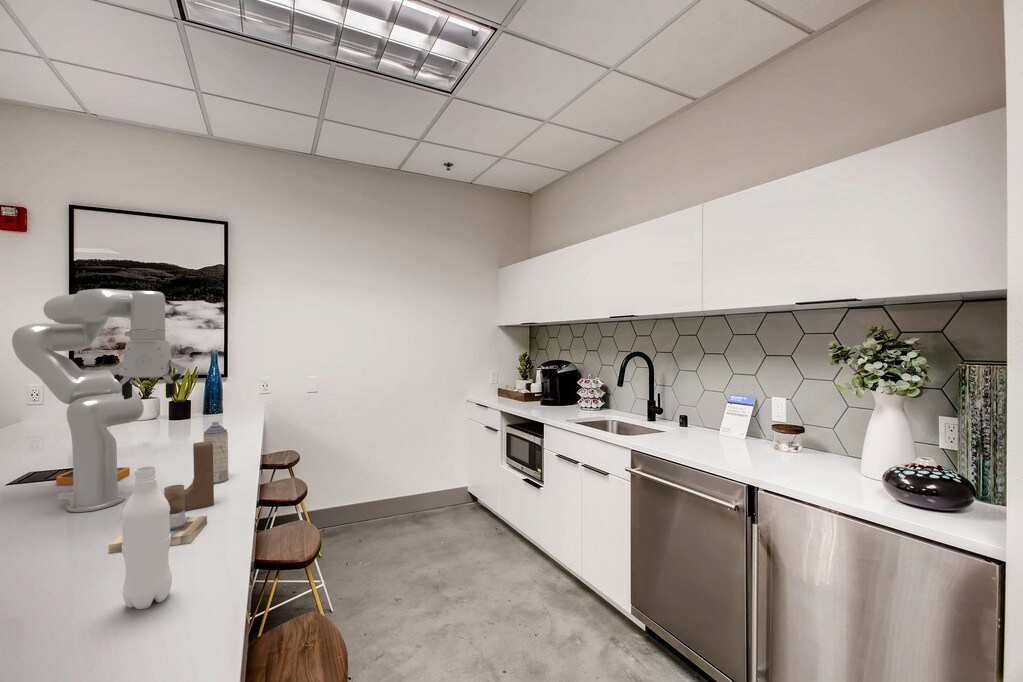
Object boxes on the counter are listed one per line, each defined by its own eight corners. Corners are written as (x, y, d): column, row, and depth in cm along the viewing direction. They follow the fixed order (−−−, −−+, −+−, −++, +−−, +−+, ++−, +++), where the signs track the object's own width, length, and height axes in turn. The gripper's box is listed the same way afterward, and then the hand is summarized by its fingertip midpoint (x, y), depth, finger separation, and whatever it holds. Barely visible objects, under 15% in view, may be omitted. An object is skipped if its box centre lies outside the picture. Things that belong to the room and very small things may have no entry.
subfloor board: (108, 553, 105) (108, 543, 105) (133, 531, 116) (133, 522, 116) (190, 543, 110) (190, 534, 110) (207, 523, 121) (206, 514, 121)
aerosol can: (232, 477, 159) (230, 419, 158) (222, 483, 152) (221, 423, 152) (210, 478, 158) (209, 420, 157) (200, 485, 151) (199, 424, 151)
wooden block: (175, 513, 128) (174, 448, 127) (175, 508, 131) (173, 445, 131) (214, 505, 133) (213, 443, 133) (212, 500, 137) (211, 440, 136)
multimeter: (71, 479, 158) (71, 469, 158) (131, 475, 162) (131, 465, 162) (52, 487, 150) (51, 477, 150) (116, 483, 154) (115, 473, 154)
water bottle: (141, 591, 89) (138, 463, 89) (180, 589, 90) (178, 462, 89) (112, 614, 82) (109, 475, 82) (155, 612, 83) (152, 474, 82)
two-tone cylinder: (162, 540, 111) (161, 490, 111) (169, 533, 115) (168, 485, 115) (181, 537, 113) (180, 489, 112) (187, 531, 116) (186, 483, 116)
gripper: (102, 336, 121) (103, 401, 121) (179, 336, 126) (180, 399, 126) (117, 335, 128) (118, 397, 128) (189, 335, 133) (190, 395, 134)
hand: (149, 398), depth 127 cm, fingers open, 9 cm apart
